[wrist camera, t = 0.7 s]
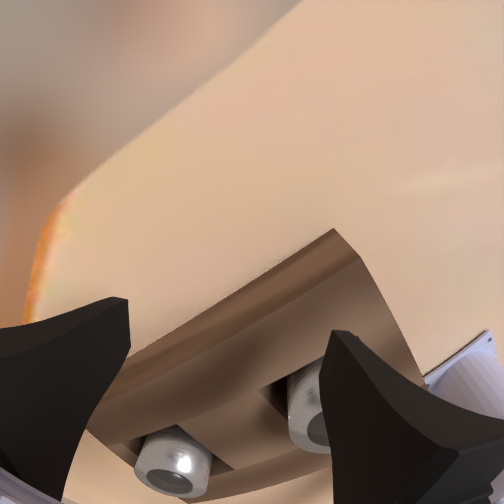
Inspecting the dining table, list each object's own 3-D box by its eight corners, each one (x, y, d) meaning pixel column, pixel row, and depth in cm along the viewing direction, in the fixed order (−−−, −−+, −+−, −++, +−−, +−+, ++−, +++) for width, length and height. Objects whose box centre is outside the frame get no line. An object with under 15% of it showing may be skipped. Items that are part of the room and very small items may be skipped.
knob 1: (230, 431, 21) (221, 493, 16) (185, 447, 22) (170, 502, 17) (188, 393, 20) (168, 457, 15) (144, 412, 21) (119, 468, 16)
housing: (408, 361, 21) (437, 410, 16) (198, 457, 26) (188, 503, 20) (333, 228, 19) (360, 257, 13) (103, 372, 23) (73, 417, 18)
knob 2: (371, 364, 19) (398, 427, 13) (308, 398, 20) (317, 465, 14) (338, 312, 18) (364, 376, 12) (270, 352, 19) (269, 423, 13)
